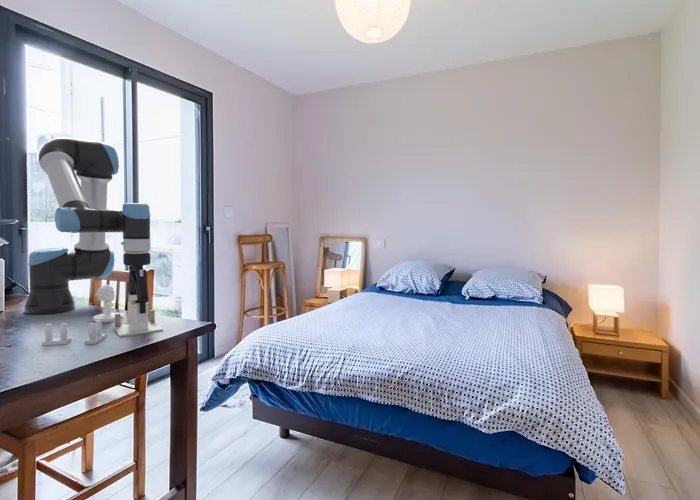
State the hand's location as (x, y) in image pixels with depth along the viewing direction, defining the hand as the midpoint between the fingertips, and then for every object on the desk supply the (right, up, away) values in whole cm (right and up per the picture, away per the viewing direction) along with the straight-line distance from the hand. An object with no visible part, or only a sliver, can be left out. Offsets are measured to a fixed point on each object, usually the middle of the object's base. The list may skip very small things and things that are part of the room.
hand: (138, 318), depth 125 cm
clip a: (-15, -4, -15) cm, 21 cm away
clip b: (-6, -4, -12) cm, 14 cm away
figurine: (-17, -2, +12) cm, 21 cm away
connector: (0, -3, 0) cm, 3 cm away
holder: (0, -3, 0) cm, 3 cm away
